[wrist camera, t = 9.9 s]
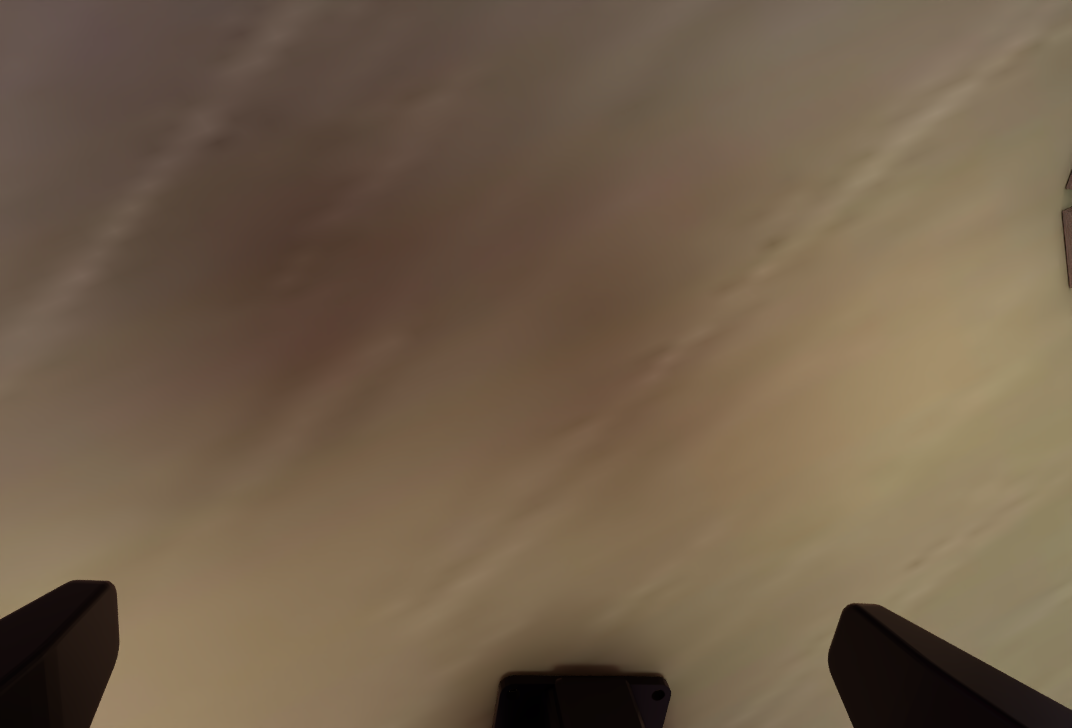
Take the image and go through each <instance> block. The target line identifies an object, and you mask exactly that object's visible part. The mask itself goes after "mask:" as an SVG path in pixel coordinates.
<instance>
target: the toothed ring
mask: <svg viewBox="0 0 1072 728" xmlns="http://www.w3.org/2000/svg"><path fill="white" fill-rule="evenodd" d="M1066 189H1072V173H1071V176H1070V178H1069V181H1068V184H1067V186H1066ZM1062 212H1063V223H1064V233H1065V243H1066V254H1067V264H1068V274H1069V285H1070V288H1072V207H1071V208H1068V209H1066V210H1064V211H1062Z"/></svg>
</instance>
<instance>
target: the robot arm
mask: <svg viewBox="0 0 1072 728" xmlns="http://www.w3.org/2000/svg"><path fill="white" fill-rule="evenodd" d="M118 651H119V623H118V605H117V591H116V589H115V586H114V585H113V584H112V583H111V582H110V581H96V580H73V581H70V582H68V583H65V584H63V585H62V586H60V587H58V588H56V589H54V590H53V591H51V592H49V593H47V594H45V595H44V596H42V597H40V598H38V599H36V600H34V601H33V602H31V603H29V604H27V605H25V606H24V607H22V608H20V609H18V610H16V611H14V612H13V613H11V614H9V615H7V616H5V617H4V618H2V619H0V728H90V726H91V723H92V721H93V718H94V716H95V713H96V711H97V708H98V706H99V703H100V701H101V698H102V696H103V693H104V691H105V688H106V686H107V683H108V681H109V678H110V676H111V673H112V671H113V668H114V666H115V663H116V660H117V656H118ZM828 665H829V670H830V673H831V676H832V678H833V680H834V683H835V685H836V687H837V690H838V692H839V694H840V697H841V699H842V701H843V704H844V706H845V708H846V711H847V713H848V715H849V718H850V720H851V722H852V725H853V727H854V728H1072V710H1070V709H1069V708H1067V707H1065V706H1063V705H1061V704H1059V703H1058V702H1056V701H1054V700H1052V699H1050V698H1049V697H1047V696H1045V695H1043V694H1041V693H1039V692H1038V691H1036V690H1034V689H1032V688H1030V687H1029V686H1027V685H1025V684H1023V683H1021V682H1019V681H1018V680H1016V679H1014V678H1012V677H1010V676H1008V675H1007V674H1005V673H1003V672H1001V671H999V670H998V669H996V668H994V667H992V666H990V665H988V664H987V663H985V662H983V661H981V660H979V659H977V658H976V657H974V656H972V655H970V654H968V653H967V652H965V651H963V650H961V649H959V648H957V647H956V646H954V645H952V644H950V643H948V642H946V641H945V640H943V639H941V638H939V637H937V636H936V635H934V634H932V633H930V632H928V631H926V630H925V629H923V628H921V627H919V626H917V625H915V624H914V623H912V622H910V621H908V620H906V619H905V618H903V617H901V616H899V615H897V614H895V613H894V612H892V611H890V610H888V609H886V608H884V607H883V606H880V605H877V604H862V603H852V604H849V605H847V606H846V607H845V608H844V609H843V611H842V613H841V616H840V619H839V622H838V625H837V628H836V631H835V634H834V637H833V640H832V643H831V646H830V649H829V652H828ZM512 689H516V691H513V692H509V691H510V690H512ZM656 690H659V691H658V692H655V691H656ZM653 692H654V693H653ZM670 697H671V690H670V688H669V686H668V683H667V681H666V680H665V679H664V678H662V677H646V676H534V675H513V676H508V677H506V678H504V679H503V680H502V681H501V682H500V684H499V688H498V694H497V700H496V707H495V713H494V719H493V725H492V728H663V724H664V720H665V716H666V712H667V708H668V705H669V701H670Z"/></svg>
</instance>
